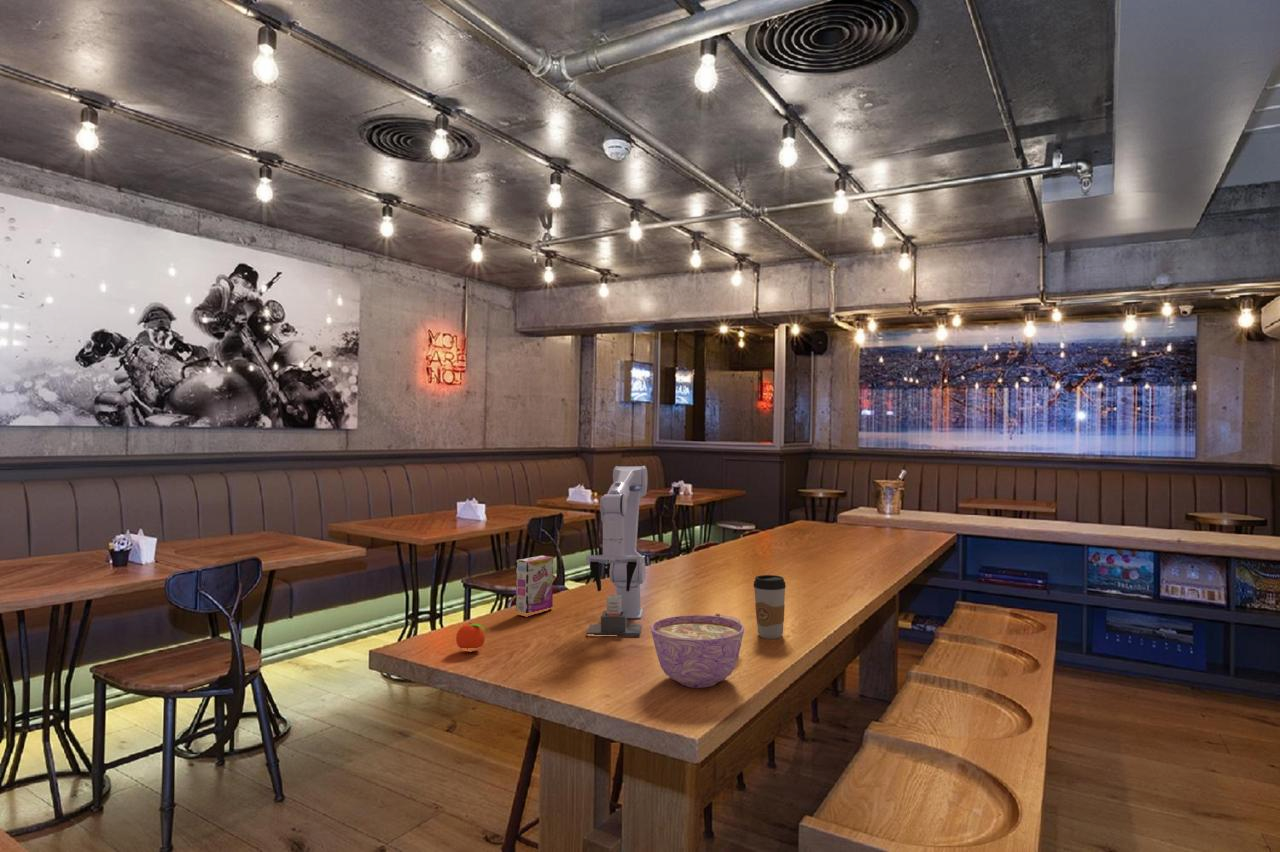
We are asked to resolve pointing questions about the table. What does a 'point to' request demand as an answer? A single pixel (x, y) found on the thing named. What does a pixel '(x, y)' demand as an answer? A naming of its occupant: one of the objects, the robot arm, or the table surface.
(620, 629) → the jack housing
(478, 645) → the clementine
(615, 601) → the block
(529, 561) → the candy bar box
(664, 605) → the table surface
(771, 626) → the coffee cup
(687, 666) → the bowl of food
